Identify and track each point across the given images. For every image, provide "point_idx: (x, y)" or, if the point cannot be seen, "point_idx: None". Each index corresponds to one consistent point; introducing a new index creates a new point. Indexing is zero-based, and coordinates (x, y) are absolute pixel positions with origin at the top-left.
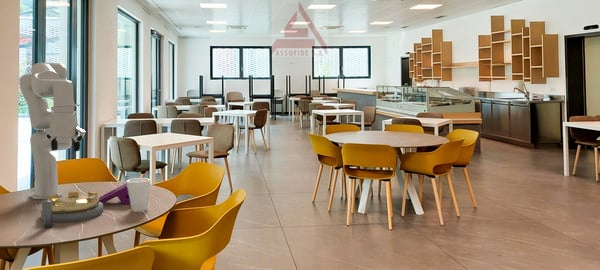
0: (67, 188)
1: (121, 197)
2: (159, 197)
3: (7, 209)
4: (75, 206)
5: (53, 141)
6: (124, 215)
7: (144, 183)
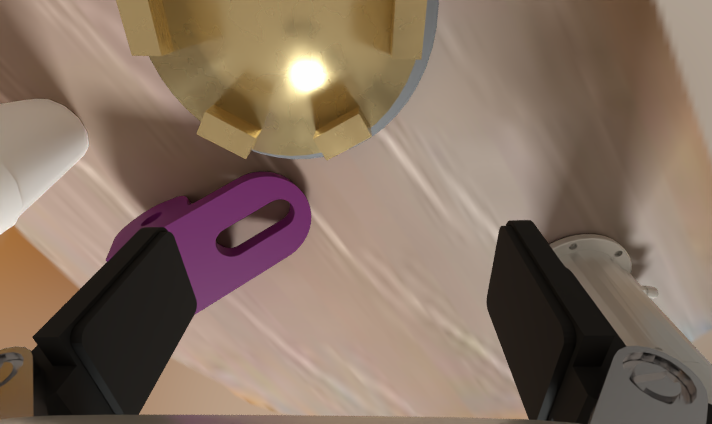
0: None
1: (176, 208)
2: None
3: (671, 75)
4: None
5: (573, 361)
6: (35, 29)
7: None
